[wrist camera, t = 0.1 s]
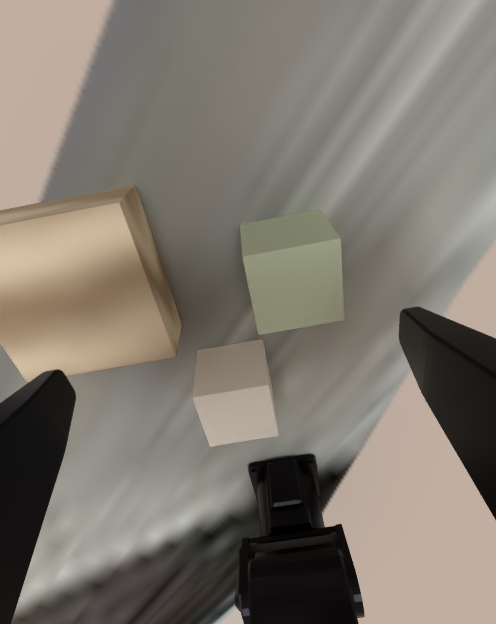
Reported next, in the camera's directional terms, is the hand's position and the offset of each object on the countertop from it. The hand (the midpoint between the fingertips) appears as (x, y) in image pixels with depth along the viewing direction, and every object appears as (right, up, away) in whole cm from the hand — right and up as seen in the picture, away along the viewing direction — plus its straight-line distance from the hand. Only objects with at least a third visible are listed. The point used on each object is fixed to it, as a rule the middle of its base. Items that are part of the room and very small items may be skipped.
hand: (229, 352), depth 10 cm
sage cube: (+3, +5, +14) cm, 15 cm away
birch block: (-10, +4, +15) cm, 18 cm away
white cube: (0, -3, +19) cm, 20 cm away
